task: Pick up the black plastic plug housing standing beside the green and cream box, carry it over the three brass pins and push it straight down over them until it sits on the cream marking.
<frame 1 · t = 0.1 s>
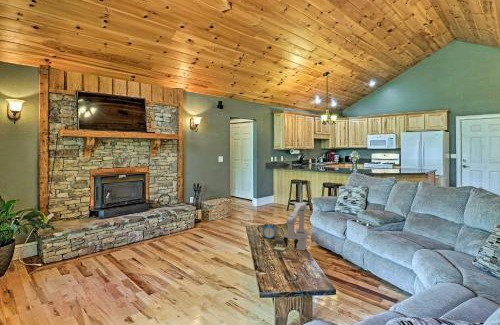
hand: (290, 247, 240), 10 cm above the table, fingers open, 7 cm apart
alarm clock: (269, 238, 297), on the table
plug housing: (279, 245, 273), on the table
green and cream box: (279, 249, 262), on the table
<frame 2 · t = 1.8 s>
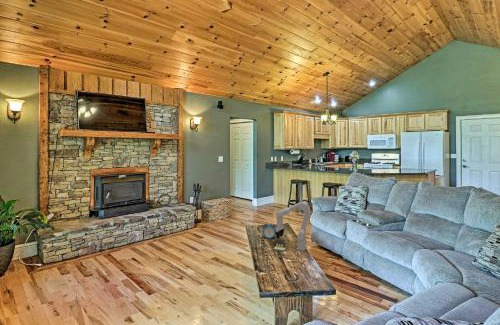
hand: (279, 237, 273), 8 cm above the table, fingers open, 7 cm apart
nothing on the table moved.
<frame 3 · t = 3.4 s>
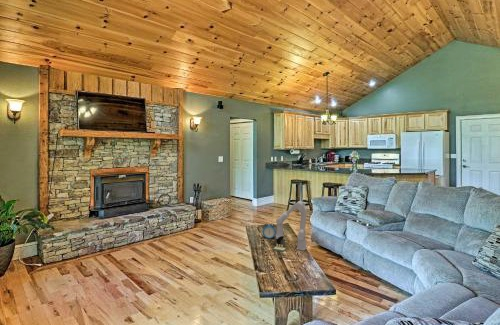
hand: (279, 244, 273), 1 cm above the table, fingers closed on plug housing, 4 cm apart
plug housing: (279, 245, 273), on the table, touching gripper
everything else where it was.
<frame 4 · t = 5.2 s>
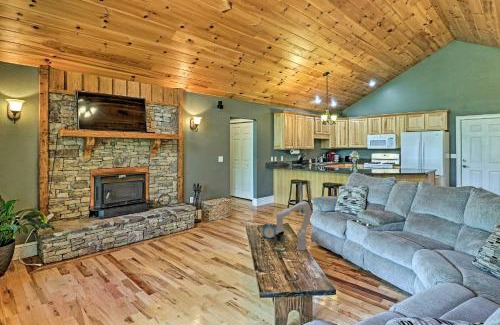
hand: (279, 239, 264), 8 cm above the table, fingers closed on plug housing, 4 cm apart
plug housing: (279, 241, 264), point 7 cm above the table, touching gripper
everything else where it was.
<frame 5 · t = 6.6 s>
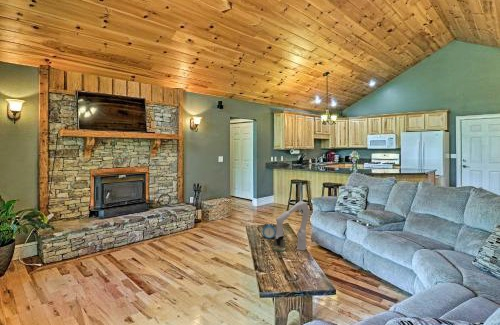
hand: (279, 244, 262), 5 cm above the table, fingers closed on plug housing, 4 cm apart
plug housing: (279, 245, 262), point 3 cm above the table, touching gripper
everything else where it was.
when the fingers open (3 cm above the table, at t = 7.4 s): plug housing stays where it is, resting on green and cream box.
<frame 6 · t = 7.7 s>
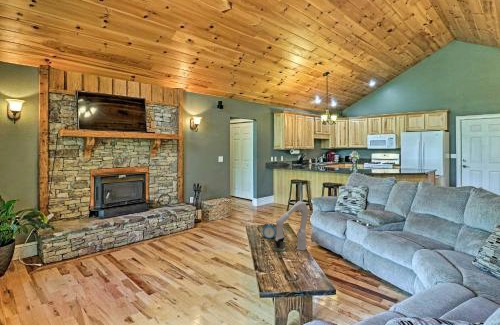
hand: (279, 246, 262), 3 cm above the table, fingers open, 6 cm apart
plug housing: (279, 248, 262), point 1 cm above the table, touching green and cream box
everything else where it was.
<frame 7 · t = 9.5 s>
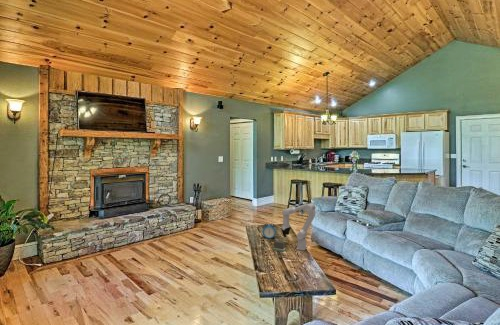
hand: (286, 235, 274), 9 cm above the table, fingers open, 7 cm apart
nothing on the table moved.
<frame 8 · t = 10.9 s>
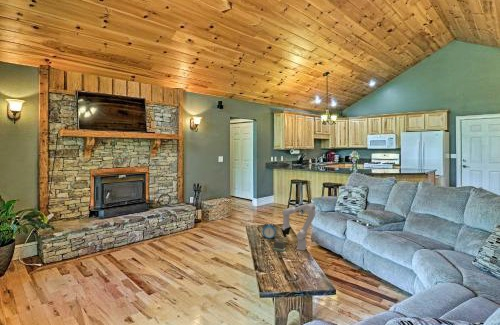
hand: (286, 235, 274), 9 cm above the table, fingers open, 7 cm apart
nothing on the table moved.
at the end: plug housing 0.1 cm off-centre on the green and cream box, point 1.3 cm above the green and cream box's base; plug housing tilted 0°; the gripper is holding nothing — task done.
